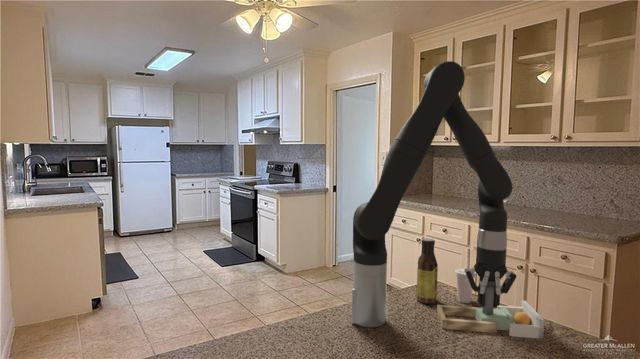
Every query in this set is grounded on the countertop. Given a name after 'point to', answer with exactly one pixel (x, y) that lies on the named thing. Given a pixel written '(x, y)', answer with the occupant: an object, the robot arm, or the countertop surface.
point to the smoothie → (463, 285)
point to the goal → (528, 331)
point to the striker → (493, 310)
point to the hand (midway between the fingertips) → (488, 305)
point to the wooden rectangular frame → (463, 324)
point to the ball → (522, 318)
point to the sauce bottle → (427, 273)
